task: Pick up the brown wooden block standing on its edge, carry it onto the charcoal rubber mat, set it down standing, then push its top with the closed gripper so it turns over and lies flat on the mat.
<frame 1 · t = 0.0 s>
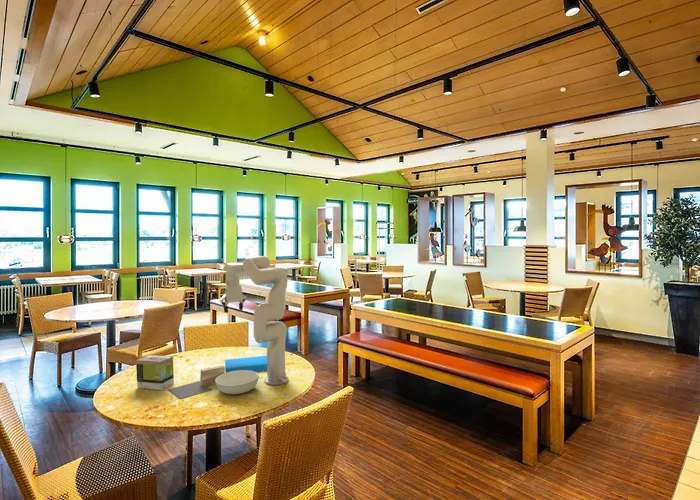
hand: (233, 311, 246), 31 cm above the table, tool pointing down, fingers open, 9 cm apart
mat: (189, 390, 203), on the table
brown wooden block: (212, 383, 211), on the table, touching mat
tea box: (155, 386, 210), on the table
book: (247, 368, 237), on the table
serving bowl: (237, 391, 203), on the table
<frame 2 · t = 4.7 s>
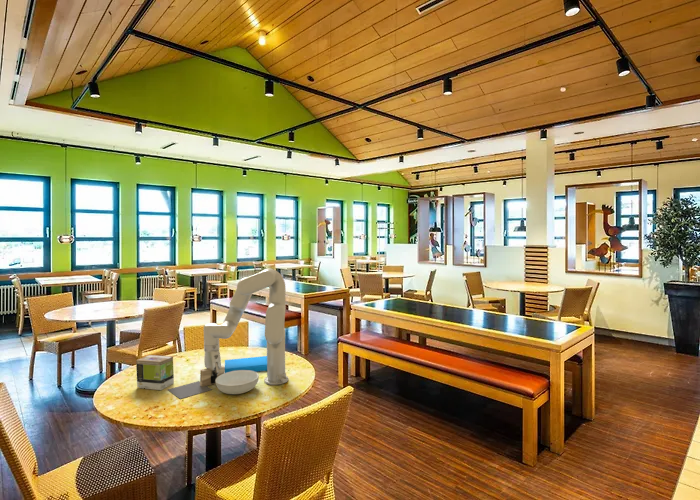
hand: (212, 381, 212), 1 cm above the table, tool pointing down, fingers closed on brown wooden block, 2 cm apart
brown wooden block: (212, 383, 211), on the table, touching gripper, mat
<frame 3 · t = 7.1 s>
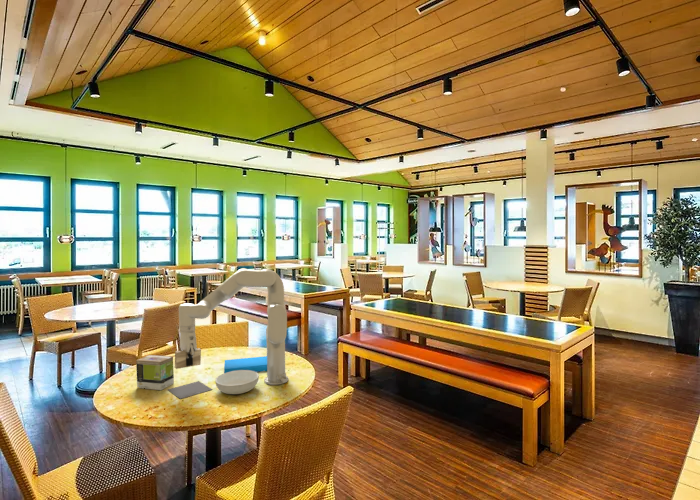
hand: (188, 364, 203), 13 cm above the table, tool pointing down, fingers closed on brown wooden block, 2 cm apart
brown wooden block: (187, 366, 203), point 12 cm above the table, touching gripper
when the fingers open (2 cm above the table, at t = 9.5 s): brown wooden block stays where it is, resting on mat.
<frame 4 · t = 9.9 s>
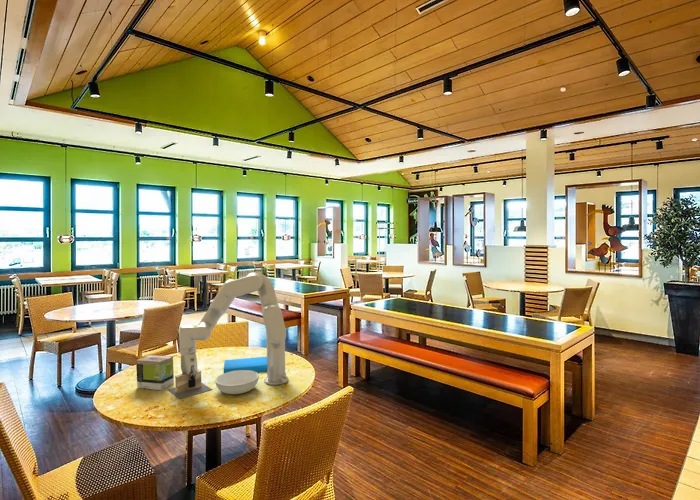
hand: (189, 384, 204), 3 cm above the table, tool pointing down, fingers open, 6 cm apart
brown wooden block: (188, 389, 204), point 1 cm above the table, touching mat
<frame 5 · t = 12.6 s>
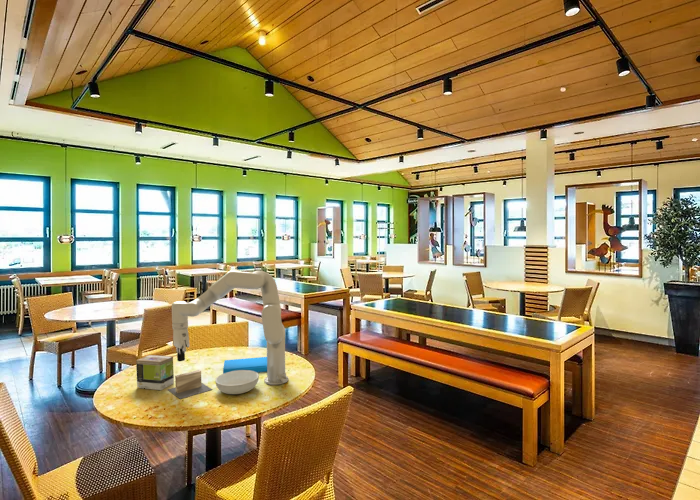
hand: (181, 360, 210), 13 cm above the table, tool pointing down, fingers closed
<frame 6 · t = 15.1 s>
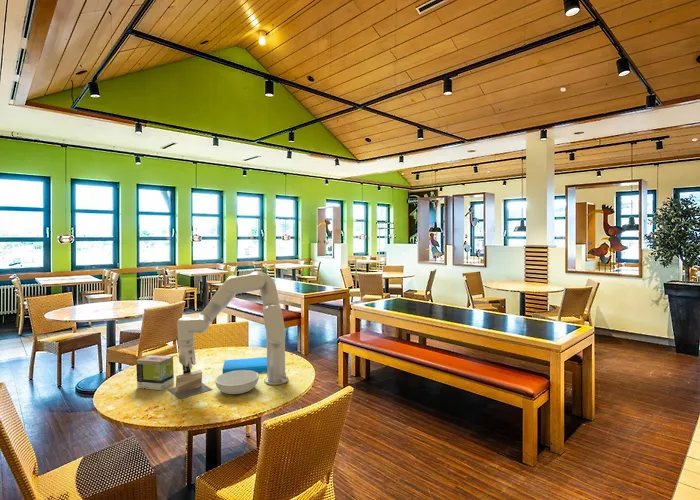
hand: (187, 378, 205), 6 cm above the table, tool pointing down, fingers closed
brown wooden block: (188, 388, 204), point 1 cm above the table, tilted 10°, touching mat
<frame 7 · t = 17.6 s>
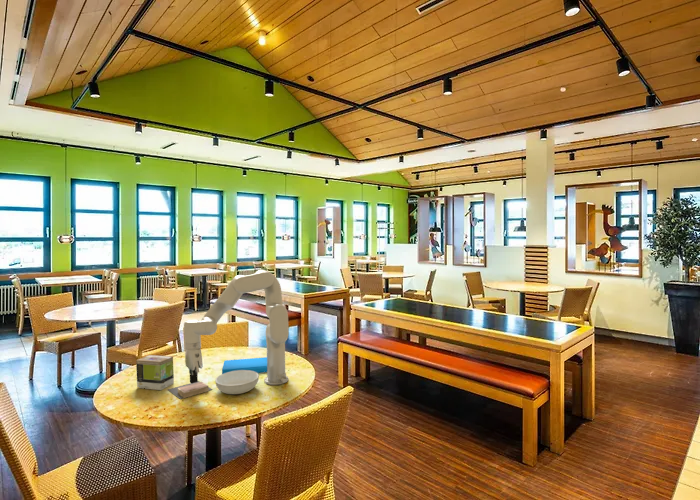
hand: (193, 382, 199), 6 cm above the table, tool pointing down, fingers closed
brown wooden block: (189, 387, 203), point 2 cm above the table, tilted 90°, touching mat
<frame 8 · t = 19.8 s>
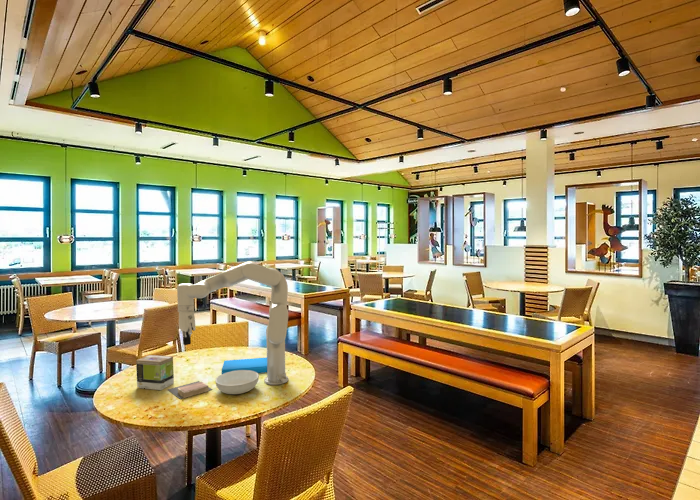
hand: (187, 344, 204), 23 cm above the table, tool pointing down, fingers closed
at the end: brown wooden block tilted 90°; brown wooden block inside the target area (0.4 cm from its centre), point 1.8 cm above the table; the gripper is holding nothing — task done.
